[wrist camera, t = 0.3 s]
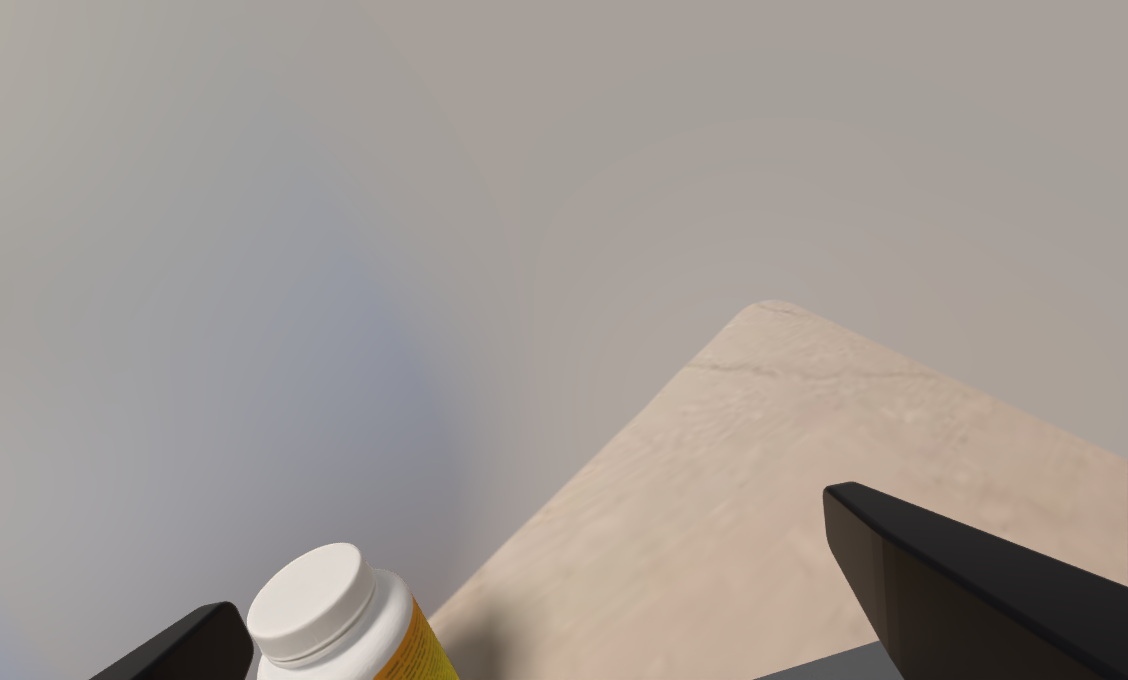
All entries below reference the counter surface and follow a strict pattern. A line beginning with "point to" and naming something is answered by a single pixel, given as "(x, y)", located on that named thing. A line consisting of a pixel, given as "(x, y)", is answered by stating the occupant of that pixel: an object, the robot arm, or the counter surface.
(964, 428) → the counter surface
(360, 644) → the supplement bottle
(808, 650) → the counter surface
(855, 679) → the grey flat bar piece
